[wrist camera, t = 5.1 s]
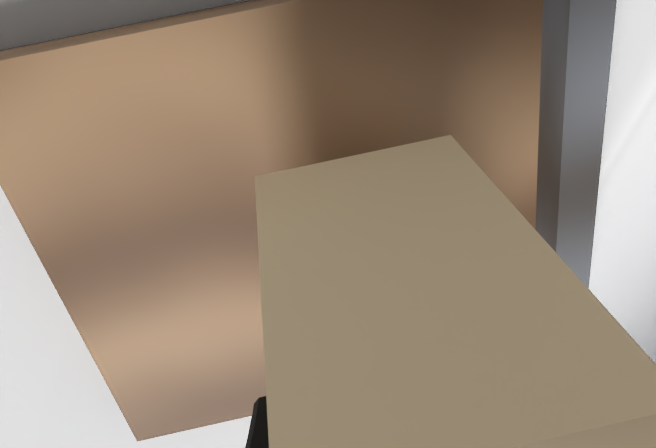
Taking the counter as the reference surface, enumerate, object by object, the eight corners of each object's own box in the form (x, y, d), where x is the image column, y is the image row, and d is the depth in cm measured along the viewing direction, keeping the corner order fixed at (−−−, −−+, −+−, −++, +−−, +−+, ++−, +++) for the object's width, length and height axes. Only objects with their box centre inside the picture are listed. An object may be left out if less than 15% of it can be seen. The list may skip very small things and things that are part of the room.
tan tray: (548, 320, 19) (584, 371, 17) (143, 411, 19) (131, 474, 17) (568, -64, 13) (629, -57, 11) (-36, 58, 13) (-89, 89, 11)
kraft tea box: (450, 134, 11) (693, 405, 5) (463, 352, 14) (625, 679, 8) (254, 176, 11) (271, 503, 5) (309, 386, 14) (360, 744, 8)
